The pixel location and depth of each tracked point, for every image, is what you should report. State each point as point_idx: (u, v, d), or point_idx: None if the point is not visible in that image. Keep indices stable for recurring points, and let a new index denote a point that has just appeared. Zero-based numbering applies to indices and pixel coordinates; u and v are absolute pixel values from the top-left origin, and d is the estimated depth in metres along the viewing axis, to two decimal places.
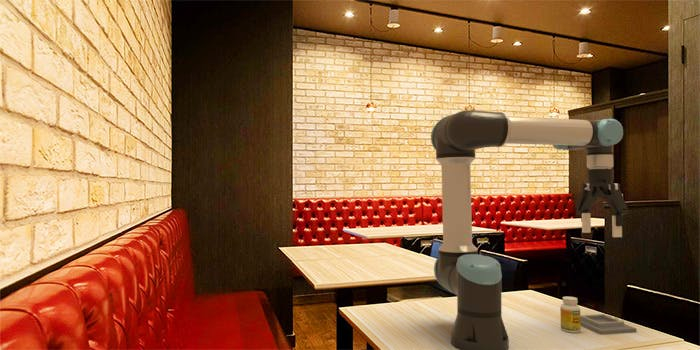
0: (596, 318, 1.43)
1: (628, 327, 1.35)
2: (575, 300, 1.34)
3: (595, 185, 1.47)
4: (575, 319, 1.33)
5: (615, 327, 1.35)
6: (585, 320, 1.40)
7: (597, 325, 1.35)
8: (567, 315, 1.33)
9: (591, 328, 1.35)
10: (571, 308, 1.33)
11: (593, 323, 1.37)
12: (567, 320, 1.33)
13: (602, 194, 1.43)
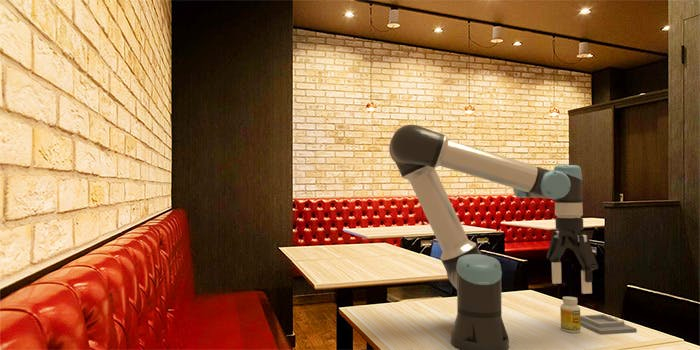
0: (596, 318, 1.43)
1: (628, 327, 1.35)
2: (575, 300, 1.34)
3: (564, 234, 1.37)
4: (575, 319, 1.33)
5: (615, 327, 1.35)
6: (585, 320, 1.40)
7: (597, 325, 1.35)
8: (567, 315, 1.33)
9: (591, 328, 1.35)
10: (571, 308, 1.33)
11: (593, 323, 1.37)
12: (567, 320, 1.33)
13: (571, 245, 1.33)
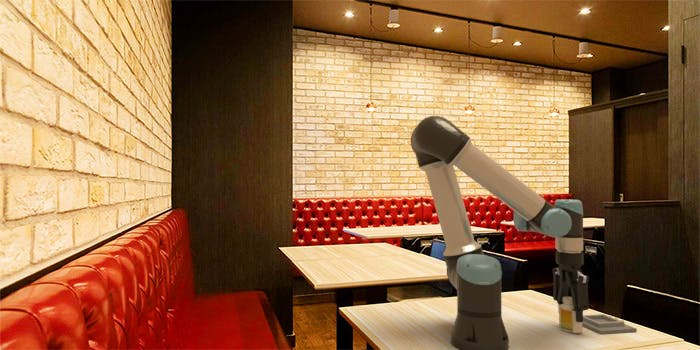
0: (596, 318, 1.43)
1: (628, 327, 1.35)
2: None
3: (563, 265, 1.37)
4: None
5: (615, 327, 1.35)
6: (585, 320, 1.40)
7: (597, 325, 1.35)
8: (567, 315, 1.33)
9: (591, 328, 1.35)
10: (571, 308, 1.33)
11: (593, 323, 1.37)
12: (567, 320, 1.33)
13: (569, 282, 1.33)
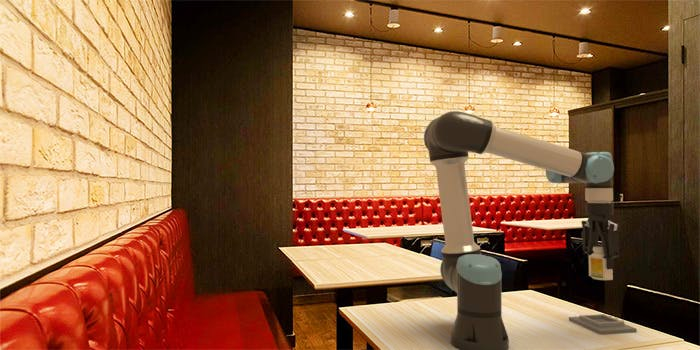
0: (596, 318, 1.43)
1: (628, 327, 1.35)
2: None
3: (593, 216, 1.41)
4: None
5: (615, 327, 1.35)
6: (585, 320, 1.40)
7: (597, 325, 1.35)
8: (598, 263, 1.38)
9: (591, 328, 1.35)
10: (602, 256, 1.37)
11: (593, 323, 1.37)
12: (597, 268, 1.38)
13: (599, 231, 1.38)
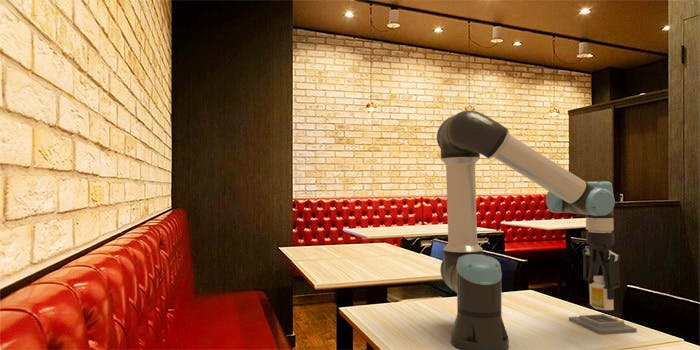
0: (596, 318, 1.43)
1: (628, 327, 1.35)
2: None
3: (594, 245, 1.41)
4: None
5: (615, 327, 1.35)
6: (585, 320, 1.40)
7: (597, 325, 1.35)
8: (599, 293, 1.38)
9: (591, 328, 1.35)
10: (602, 286, 1.37)
11: (593, 323, 1.37)
12: (598, 297, 1.38)
13: (600, 261, 1.38)
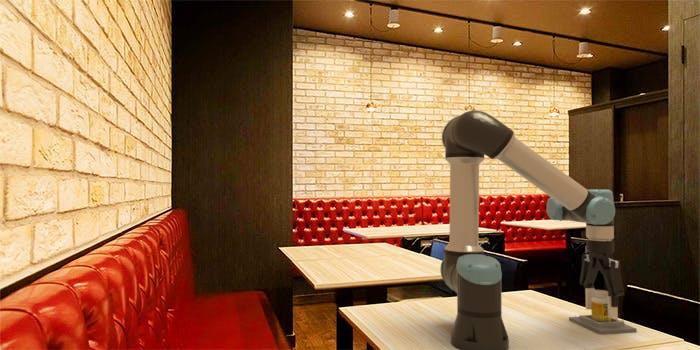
0: None
1: (628, 327, 1.35)
2: (606, 293, 1.38)
3: (594, 255, 1.41)
4: (606, 312, 1.37)
5: (615, 327, 1.35)
6: (585, 320, 1.40)
7: (597, 325, 1.35)
8: (599, 308, 1.37)
9: (591, 328, 1.35)
10: (602, 301, 1.37)
11: (593, 323, 1.37)
12: (598, 312, 1.37)
13: (601, 269, 1.37)
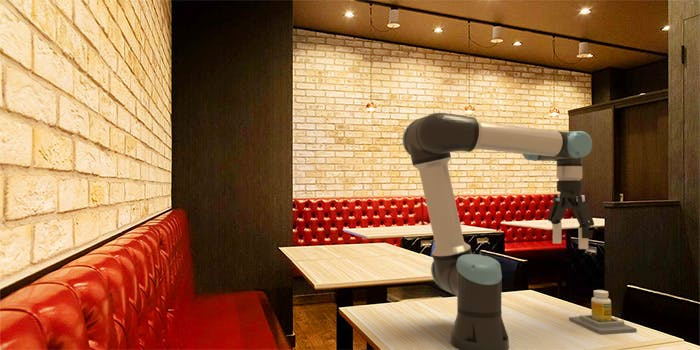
0: None
1: (628, 327, 1.35)
2: (606, 293, 1.38)
3: (564, 196, 1.47)
4: (606, 312, 1.37)
5: (615, 327, 1.35)
6: (585, 320, 1.40)
7: (597, 325, 1.35)
8: (599, 308, 1.37)
9: (591, 328, 1.35)
10: (602, 301, 1.37)
11: (593, 323, 1.37)
12: (598, 312, 1.37)
13: (570, 205, 1.43)
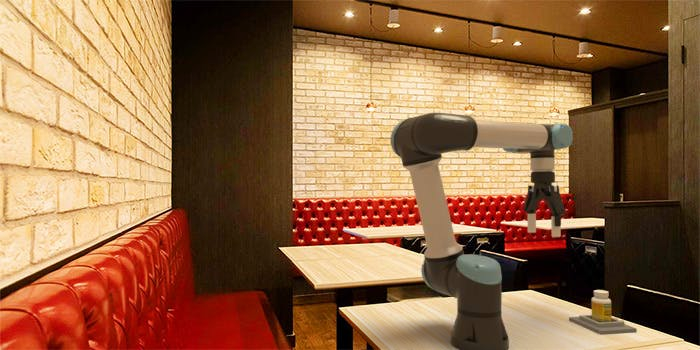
0: None
1: (628, 327, 1.35)
2: (606, 293, 1.38)
3: (538, 187, 1.53)
4: (607, 312, 1.37)
5: (615, 327, 1.35)
6: (585, 320, 1.40)
7: (597, 325, 1.35)
8: (599, 308, 1.37)
9: (591, 328, 1.35)
10: (603, 301, 1.37)
11: (593, 323, 1.37)
12: (598, 312, 1.37)
13: (543, 196, 1.49)
